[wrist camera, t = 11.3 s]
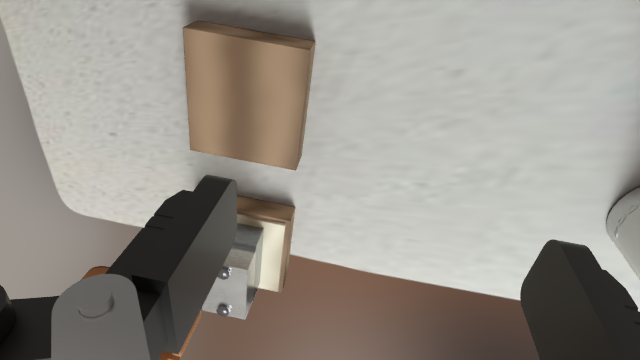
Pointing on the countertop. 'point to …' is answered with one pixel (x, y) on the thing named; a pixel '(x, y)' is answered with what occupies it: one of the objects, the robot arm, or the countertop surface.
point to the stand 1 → (247, 93)
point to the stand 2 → (270, 237)
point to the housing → (238, 275)
